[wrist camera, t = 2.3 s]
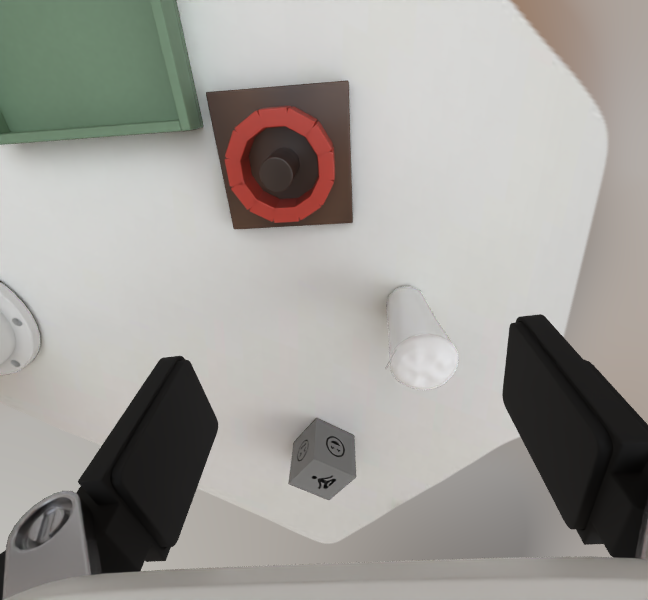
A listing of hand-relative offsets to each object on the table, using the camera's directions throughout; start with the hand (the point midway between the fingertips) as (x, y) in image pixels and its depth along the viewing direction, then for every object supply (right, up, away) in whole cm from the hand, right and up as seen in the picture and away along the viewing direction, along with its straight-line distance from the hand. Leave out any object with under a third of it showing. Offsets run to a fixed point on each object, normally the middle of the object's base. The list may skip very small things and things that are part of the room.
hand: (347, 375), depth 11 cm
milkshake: (+6, +2, +21) cm, 22 cm away
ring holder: (-3, +12, +15) cm, 20 cm away
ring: (-3, +12, +14) cm, 18 cm away
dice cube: (-1, -13, +30) cm, 33 cm away
